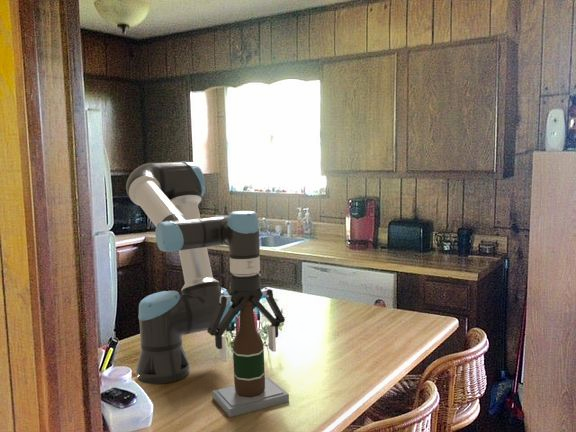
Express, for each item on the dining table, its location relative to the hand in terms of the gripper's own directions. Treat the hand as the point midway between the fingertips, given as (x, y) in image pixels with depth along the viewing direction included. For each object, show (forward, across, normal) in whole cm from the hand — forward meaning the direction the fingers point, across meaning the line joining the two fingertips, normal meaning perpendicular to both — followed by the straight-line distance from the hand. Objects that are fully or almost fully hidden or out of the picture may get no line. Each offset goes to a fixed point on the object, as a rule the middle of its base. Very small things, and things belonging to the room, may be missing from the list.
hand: (248, 355), depth 136 cm
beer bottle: (+10, 0, 0) cm, 10 cm away
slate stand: (+12, 0, 0) cm, 12 cm away
